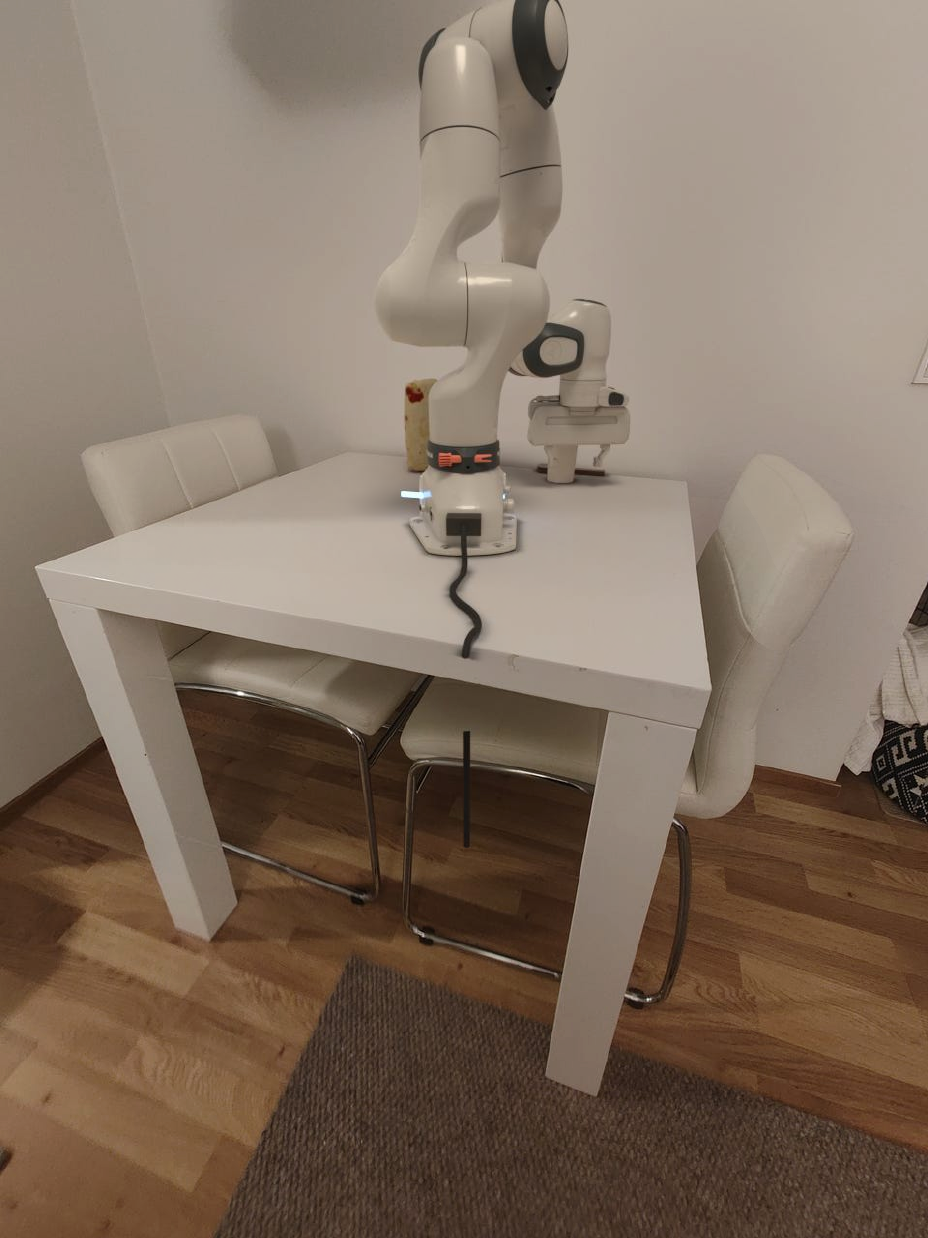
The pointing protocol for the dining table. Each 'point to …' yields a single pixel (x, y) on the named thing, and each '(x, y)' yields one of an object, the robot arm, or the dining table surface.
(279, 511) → the dining table surface
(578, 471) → the wooden spoon
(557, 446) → the white cup
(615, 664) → the dining table surface
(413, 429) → the food model
